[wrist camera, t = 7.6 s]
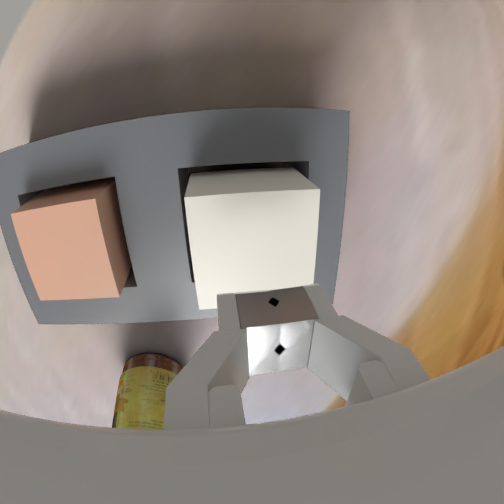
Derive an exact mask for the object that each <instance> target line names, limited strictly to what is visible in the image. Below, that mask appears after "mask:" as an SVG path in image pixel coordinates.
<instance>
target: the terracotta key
mask: <svg viewBox="0 0 504 504" xmlns="http://www.w3.org/2000/svg"><path fill="white" fill-rule="evenodd" d="M11 217H12V221H13V224H14V228H15V231H16V235H17V238H18V241H19V244H20V248H21V251H22V254H23V257H24V260H25V262H26V265H27V268H28V271H29V273H30V276H31V279H32V281H33V284H34V286H35V289H36V291H37V294H38V296H39V298H40V301H42V300H71V299H94V298H114V297H120V295H121V293H122V290H123V287H124V285H125V282H126V280H127V277H128V275H129V272H130V270H131V267H132V263H131V259H130V255H129V250H128V246H127V241H126V236H125V232H124V227H123V221H122V216H121V211H120V205H119V200H118V194H117V187H116V181H115V177H112V178H106V179H100V180H94V181H88V182H82V183H77V184H71V185H66V186H61V187H56V188H51V189H46V190H45V191H43V192H41V193H40V194H38V195H37V196H35V197H34V198H32V199H31V200H30V201H28V202H27V203H25V204H24V205H22V206H21V207H20V208H18V209H17V210H15V211H14V212H13V213H11Z"/></svg>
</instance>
